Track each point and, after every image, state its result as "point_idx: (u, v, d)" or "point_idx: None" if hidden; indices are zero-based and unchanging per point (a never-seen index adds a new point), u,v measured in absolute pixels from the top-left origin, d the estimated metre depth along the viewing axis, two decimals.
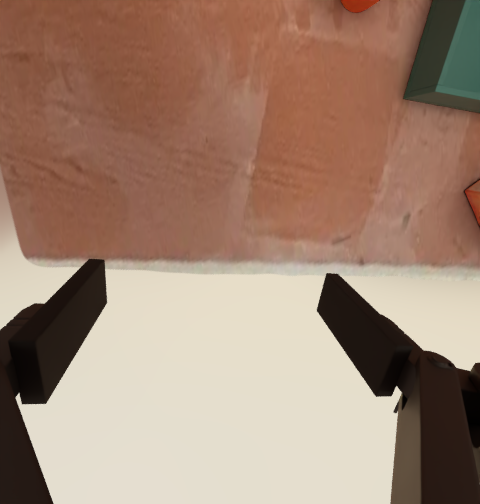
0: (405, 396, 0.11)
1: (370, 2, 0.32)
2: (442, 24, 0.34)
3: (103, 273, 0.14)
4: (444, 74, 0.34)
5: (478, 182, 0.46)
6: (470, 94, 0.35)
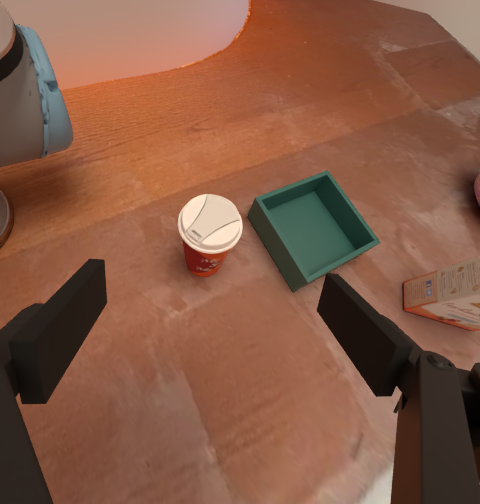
0: (405, 396, 0.11)
1: (217, 268, 0.40)
2: (274, 244, 0.43)
3: (103, 273, 0.14)
4: (303, 269, 0.40)
5: (405, 297, 0.47)
6: (332, 265, 0.41)
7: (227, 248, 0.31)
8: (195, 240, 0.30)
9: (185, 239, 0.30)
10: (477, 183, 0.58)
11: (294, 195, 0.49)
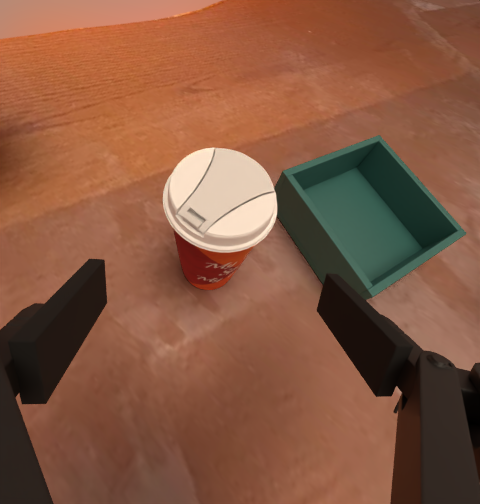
0: (405, 396, 0.11)
1: (229, 277, 0.26)
2: (312, 239, 0.29)
3: (103, 273, 0.14)
4: (363, 276, 0.25)
5: None
6: (405, 269, 0.27)
7: (254, 242, 0.17)
8: (195, 228, 0.16)
9: (176, 227, 0.16)
10: None
11: (332, 171, 0.35)
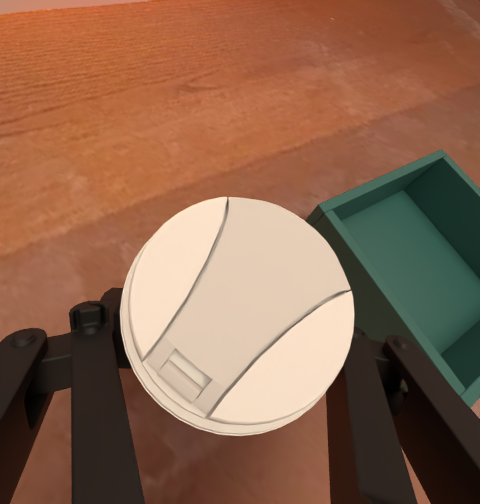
0: None
1: None
2: (360, 302, 0.20)
3: None
4: (450, 374, 0.17)
5: None
6: None
7: (311, 404, 0.08)
8: (186, 397, 0.07)
9: (146, 382, 0.07)
10: None
11: (378, 198, 0.26)
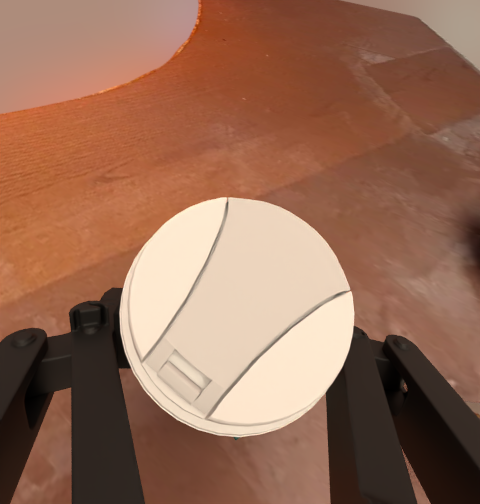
0: None
1: None
2: None
3: None
4: None
5: None
6: None
7: (310, 405, 0.08)
8: (185, 398, 0.07)
9: (145, 383, 0.07)
10: None
11: None
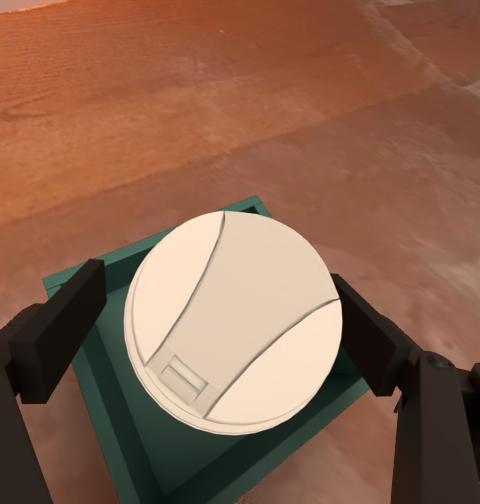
0: (405, 396, 0.11)
1: None
2: None
3: (103, 273, 0.14)
4: None
5: None
6: (239, 486, 0.14)
7: (301, 405, 0.09)
8: (184, 400, 0.07)
9: (148, 385, 0.08)
10: None
11: None
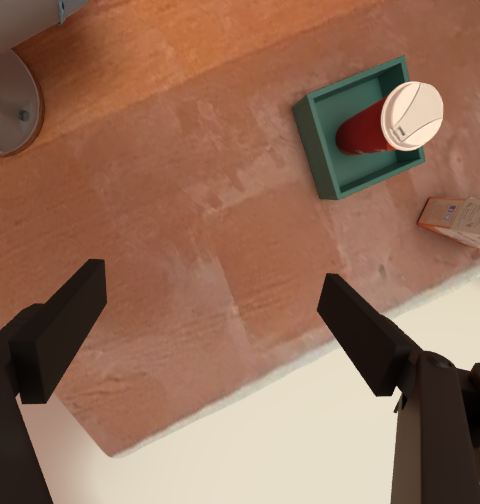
0: (405, 396, 0.11)
1: None
2: (315, 151, 0.42)
3: (103, 273, 0.14)
4: (337, 186, 0.41)
5: (424, 213, 0.50)
6: (367, 184, 0.41)
7: (418, 146, 0.33)
8: (397, 137, 0.32)
9: (386, 134, 0.32)
10: None
11: (352, 86, 0.41)
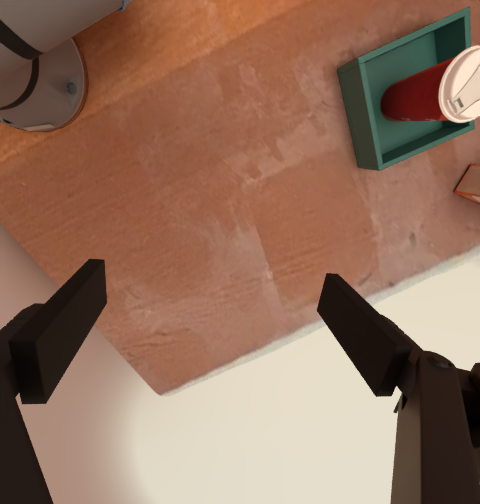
0: (405, 396, 0.11)
1: None
2: (359, 119, 0.41)
3: (103, 273, 0.14)
4: (380, 157, 0.40)
5: (462, 180, 0.49)
6: (410, 154, 0.41)
7: (474, 118, 0.32)
8: (454, 109, 0.31)
9: (442, 105, 0.31)
10: None
11: None
